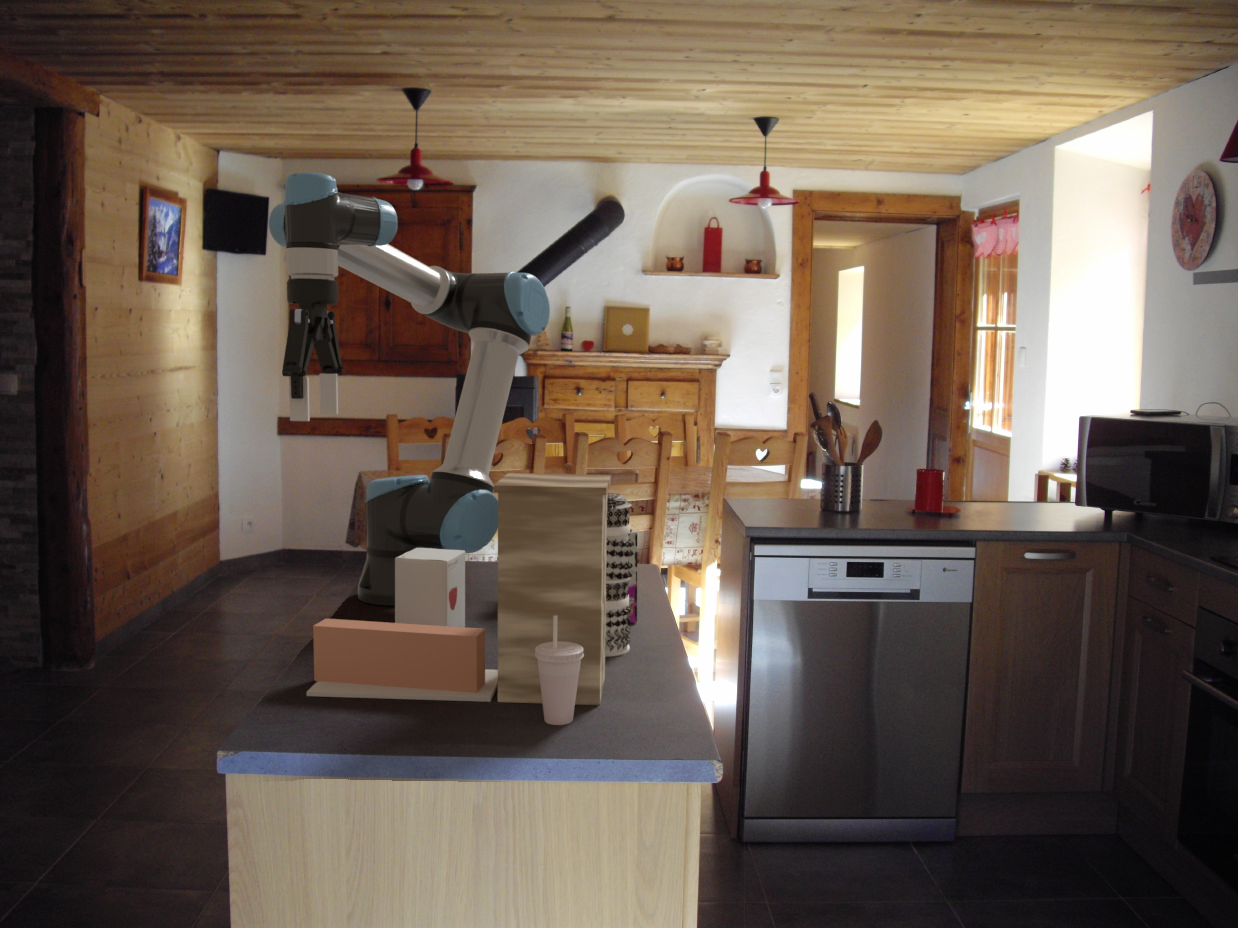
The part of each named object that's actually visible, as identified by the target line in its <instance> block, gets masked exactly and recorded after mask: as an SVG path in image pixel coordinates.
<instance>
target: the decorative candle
mask: <svg viewBox="0 0 1238 928" xmlns="http://www.w3.org/2000/svg"><path fill="white" fill-rule="evenodd" d="M632 506H633V505H632V503H629V502H628V500H627V498H626V497H625V496H624V495H623V494H620V493H613V492H612V493H610V492H608V494H607V563H606V632H605V658H607V657H618V656H623V655H626V654H627V653H628V652H630V650H631V648H630V643H631V636H630V634H631V633H632V631H631V630H632V628H631V627H630V625H629V624H627V623H628V622H630V621H631V617H630V616H629V615H628V613H630V612H631V607H630V606H629V595H628V581H629V580H630V579H631V577H632V573H630V572H629V571H628V569H630V568H632V567H633V565H632V563H630V562H629V561H628V556H629V558H630V556H632V555H634V553H633V551H632V550H628V547H632V546H633V545H634V542H633V541H631V540H630V539H629V540H628V534H630V532H632V530H633V529H632V528H631V523H630V507H632Z"/></svg>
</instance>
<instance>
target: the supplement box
mask: <svg viewBox="0 0 1238 928" xmlns="http://www.w3.org/2000/svg"><path fill="white" fill-rule="evenodd" d="M394 623H403V624H418V625H434V626H449V627H465V628H466V553H465V551H464V550H447V549H434V548H415V549H413V550H411V551H409V552H406V553H404V554H403V555H401V556H398V557H396V558H395V605H394Z"/></svg>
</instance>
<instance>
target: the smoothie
mask: <svg viewBox="0 0 1238 928" xmlns="http://www.w3.org/2000/svg"><path fill="white" fill-rule="evenodd" d="M557 617H558V616H557V615H553V642H547V643H543V644H540V645H538V646H537V647H536V648H535V657H536V658H537V660H538V670H539V677H540V686H541V694H542V703H541V704H542V711H543V717H544V722H545V723H546V724H548V725H553V726H565V725H569V724H571V723H572V722H573V721H574V714H575V713H574V712H575V705H576V704H575V700H576V692H577V685H578V678H579V671H580V663H581V659H582V658H583V657H584V654H583V647H582V646H581V645H579V644H576V643H572V642H562V641H557Z"/></svg>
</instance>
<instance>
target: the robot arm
mask: <svg viewBox="0 0 1238 928" xmlns="http://www.w3.org/2000/svg"><path fill="white" fill-rule="evenodd" d="M268 229H269V232H270V233H269V234H270V235H271V237H272V238H273V240H274V241H275V242H276V243H277V244H278V245H280V246H281V247H284V248H286V249H285V250H286V252H285V253H286V255H284V256H283V262H285V263H286V274H287V275H288V276H290V278H288V279H287V281H286V301H287V303H289V304H291V305H298V308H291V309H289V325H288V326H289V327H288V332H287V337H286V345H285V351H284V358H283V363H282V370H281V375H282V377H289V378H288V387H289V389H288V391H289V394H288V395H289V422H290V421H291V422H310V421H311V420H310V418H311V417H310V415H311V414H310V410H311V409H310V377H309V376H307V373H308V369H309V365H310V360H311V357H312V353H313V350H315V353H316V356H317V359H318V363H319V366H320V370H321V373H319V374H318V375H319V378H318V379H319V415H339V391H338V390H339V387H338V385H339V383H338V381H339V380H338V377H339V375H338V374H343V373H344V366H343V362H342V356H341V351H340V345H339V339H338V333H337V327H336V314H335V311H332V310H330V311H329V310H328V308H327V307H328V306H335V305H337V304H338V303H339V283H338V282H337V280H335V278H336V277H338V276H339V267H340V268H342V269H344V270H346V271H348V272H350V273H352V274H354V275H356V276H358V277H360V278H361V279H364V280H366V281H368V282H370V283H372V284H374V285H376V286H378V287H379V288H382V289H384V290H386V291H387V292H390V293H391V294H394V295H395V296H397V297H400V298H401V299H404V300H406V301H407V302H409V303H410V304H411V306H412V309H414V310H415V312H417V313H419V314H421V315H424V316H425V317H426V318H428V319H431V320H433V321H435V322H438V324H439V323H440V324H441V325H444V326H446V327H448V328H451V329H453V330H457V331H459V332H462V333H465V334H468V335H469V338H470V339H471V341H472V343H473V348H472V351H471V356H470V359H469V363H468V367H467V370H466V371H467V372H466V374H465V378H464V381H463V386H462V390H461V393H460V397H459V402H458V406H457V410H456V413H455V416H454V420H453V421H454V422H453V425H452V428H451V432H450V435H449V440H448V444H447V447H446V451H445V456H444V459H443V463H442V464H441V466H439V467H437V468H435V469H434V470H432V473H431V477H430V478H429V476H428V475H426V474H411V475H409V474H408V475H401V476H392V477H384V478H378V479H377V478H376V479H373V480H371V481H370V482H369V483H368V484H367V487H366V492H365V493H366V495H365V496H366V497H365V498H366V499H365V500H364V503H365V527H366V529H365V531H366V533H365V534H366V559H365V563H364V565H363V569H362V573H361V575H360V578H359V582H358V585H357V599H358V601H361V602H363V603H367V604H371V605H375V606H376V605H378V606H395V558H396V557H398V556H401V555H403V554H404V553H406V552H409V551H411V550H413V549H415V548H432V549H447V550H464V551H465V554H473V553H477V552H478V551H481V550H482V549H483V548H484V547H486V546H488V544H489V543H491V541H492V539H493V538H494V536H495V535H496V533H497V532H498V497H496V495H495V494H494V485H495V484H494V483H493V482H492V480H491V477H490V472H491V467H492V465H493V464H492V463H493V458H494V455H495V451H496V448H497V444H498V439H499V436H500V431H501V428H502V423H503V419H504V415H505V411H506V407H507V404H508V399H509V395H510V390H511V387H512V382H513V378H514V376H515V371H516V367H517V363H518V358H519V356H520V355H523V353H525V352H527V351H528V350H529V348H530V344H531V341H532V337H533V336H534V337H535V336H538V335H540V334H542V333H543V331H545V330H546V328H547V326H548V325H549V320H550V314H551V309H550V308H551V307H550V301H549V297H548V295H547V294H548V293H547V290H546V288H545V286H544V285H543V284H542V282H541V281H540V280H539V278H538V277H536V276H535V275H533V274H531V273H528V272H517V271H509V272H487V273H485V272H484V273H481V272H480V273H477V272H476V273H475V272H474V273H469V272H468V273H465V272H464V273H463V272H454V271H450V270H446V269H444V268H443V267H441V266H437V265H430V266H428V265H427V264H425V263H424V262H421V261H419V260H418V259H416V258H414V257H412V256H410V255H409V254H406V253H405V252H403V251H402V250H400V249H398V248H396V247H394V246H393V245H391V244H390V243H391V242H392V240H394V239H395V236H396V235H397V232H398V215H397V211H396V210H395V208H394V206H393V205H392V204H391V203H389V202H388V201H386V200H382V199H380V198H376V197H375V196H371V197H370V196H363V195H357V194H350V193H349V194H348V193H342V192H339V191H338V187H337V180H336V178H335V177H334V176H333V175H330V174H325V173H319V172H293V173H290V174H289V175H288V176H287V177H286V179H285V186H284V200H283V202H281V203H278V204H277V205H275V206H274V207H273V208H272V210H271V212H270V215H269V218H268ZM429 479H430V480H429Z"/></svg>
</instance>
